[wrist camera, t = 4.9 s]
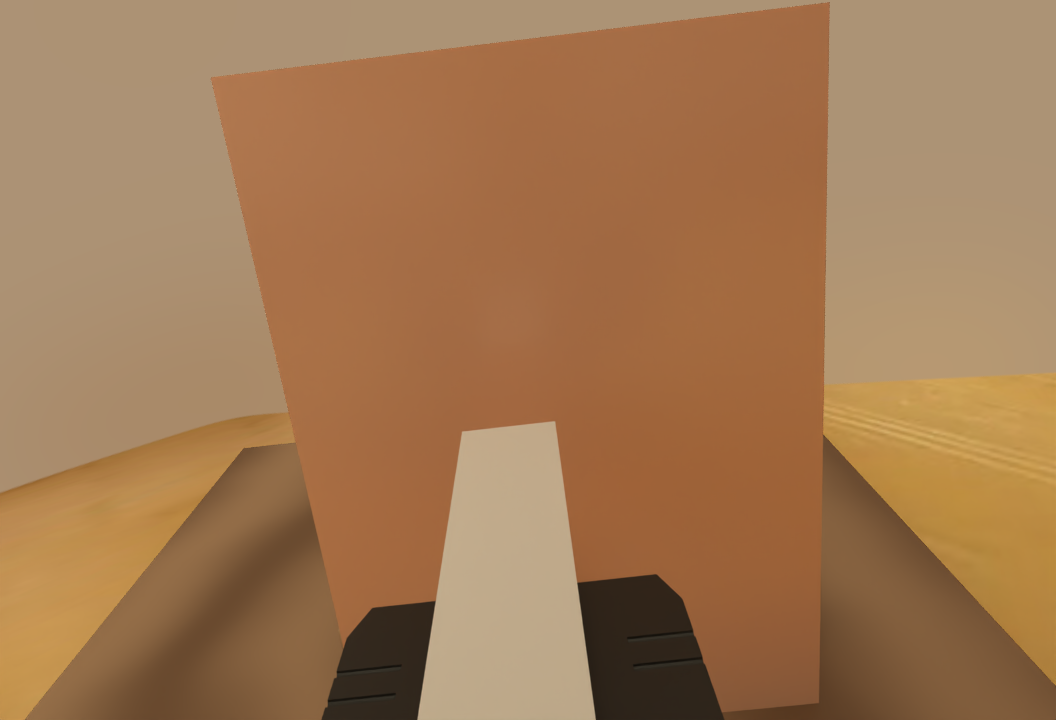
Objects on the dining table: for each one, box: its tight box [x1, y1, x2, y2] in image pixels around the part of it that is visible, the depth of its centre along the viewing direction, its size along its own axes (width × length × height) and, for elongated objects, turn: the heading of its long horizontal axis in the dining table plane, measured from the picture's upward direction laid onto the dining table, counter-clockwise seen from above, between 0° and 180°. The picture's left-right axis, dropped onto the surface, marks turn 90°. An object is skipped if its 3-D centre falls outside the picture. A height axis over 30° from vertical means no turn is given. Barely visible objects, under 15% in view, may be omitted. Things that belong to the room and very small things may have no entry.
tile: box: [211, 2, 830, 712], centre depth 15 cm, size 10×2×14 cm, turn 91°
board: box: [25, 435, 1056, 720], centre depth 23 cm, size 24×21×2 cm
